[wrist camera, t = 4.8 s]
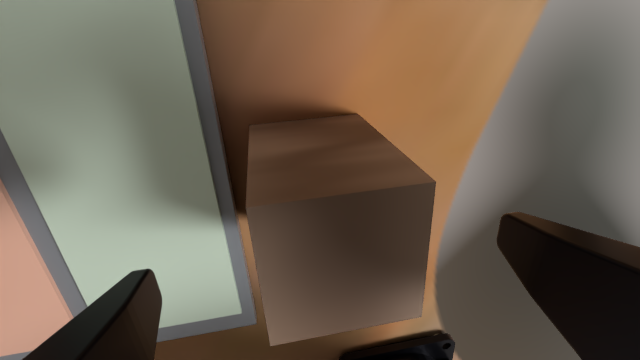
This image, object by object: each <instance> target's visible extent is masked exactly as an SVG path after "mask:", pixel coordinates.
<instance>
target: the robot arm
mask: <svg viewBox="0 0 640 360" xmlns="http://www.w3.org/2000/svg"><path fill="white" fill-rule="evenodd" d="M497 245H498V248H499V249H500V251H501V252H502V254H503V255H504V257H505V258H506V260H507V261H508V263H509V264H510V266H511V267H512V269H513V270H514V272H515V273H516V275H517V276H518V278H519V279H520V281H521V282H522V284H523V285H524V287H525V288H526V290H527V291H528V293H529V294H530V296H531V297H532V298H533V299H534V301H535V302H536V303H537V305H538V306H539V307H540V308H541V310H542V311H543V312H544V313H545V314H546V316H547V317H548V318H549V320H550V321H551V322H552V323H553V324H554V326H555V327H556V328H557V329H558V331H559V332H560V333H561V334H562V336H563V337H564V338H565V339H566V341H567V342H568V343H569V344H570V346H571V347H572V348H573V349H574V351H575V352H576V353H577V354H578V355H579V357H580V358H581V359H582V360H640V247H637V246H634V245H630V244H627V243H623V242H620V241H617V240H613V239H610V238H607V237H603V236H600V235H596V234H593V233H590V232H586V231H583V230H580V229H576V228H573V227H569V226H566V225H562V224H559V223H556V222H553V221H549V220H546V219H542V218H539V217H536V216H532V215H529V214H525V213H522V212H512V213H506V214H504V215H503V216H502V217H501V220H500V225H499V230H498V235H497ZM161 309H162V295H161V292H160V289H159V286H158V283H157V280H156V277H155V274H154V272H153V271H152V270H151V269H141V270H135V271H132V272H130V273H129V274H128V275H126V276H125V277H124V278H123V279H121V280H120V281H119V282H118V283H116V284H115V285H114V286H113V287H111V288H110V289H109V290H108V291H106V292H105V293H104V294H103V295H101V296H100V297H99V298H98V299H96V300H95V301H94V302H93V303H91V304H90V305H89V306H88V307H86V308H85V309H84V310H83V311H82V312H80V313H79V314H78V315H77V316H75V317H74V318H73V319H72V320H70V321H69V322H68V323H67V324H65V325H64V326H63V327H62V328H60V329H59V330H58V331H57V332H55V333H54V334H53V335H52V336H50V337H49V338H48V339H47V340H45V341H44V342H43V343H42V344H40V345H39V346H38V347H37V348H35V349H34V350H33V351H32V352H30V353H29V354H28V355H27V356H25V357H24V358H23V359H22V360H154V355H155V348H156V342H157V335H158V329H159V322H160V316H161ZM454 347H455V342H454V340H453V338H452V337H451V336H450V335H449V334H440V335H435V336H430V337H425V338H420V339H415V340H410V341H405V342H400V343H396V344H391V345H386V346H381V347H376V348H371V349H366V350H361V351H356V352H351V353H347V354H344V355H342V356H341V357H340V358H339V360H452V359H453V353H454Z"/></svg>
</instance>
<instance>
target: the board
mask: <svg viewBox="0 0 640 360" xmlns="http://www.w3.org/2000/svg"><path fill="white" fill-rule="evenodd" d="M141 269H151V270H152V271H153V272H154V274H155V277H156V280H157V283H158V286H159V289H160V292H161V295H162V309H161V316H160V322H159V329H158V335H157V342H161V341H167V340H172V339H178V338H183V337H189V336H194V335H199V334H205V333H210V332H216V331H221V330H227V329H232V328H238V327H243V326H248V325H254V324H256V309H255V304H254V299H253V293H252V288H251V283H250V278H249V273H248V268H247V262H246V257H245V252H244V247H243V242H242V236H241V231H240V226H239V221H238V216H237V210H236V205H235V200H234V195H233V190H232V184H231V179H230V174H229V169H228V164H227V159H226V153H225V148H224V143H223V138H222V133H221V127H220V122H219V117H218V112H217V107H216V101H215V96H214V91H213V86H212V81H211V76H210V70H209V65H208V60H207V55H206V50H205V44H204V39H203V34H202V29H201V24H200V18H199V13H198V8H197V3H196V0H0V360H22V359H23V358H24V357H25V356H27V355H28V354H29V353H30V352H32V351H33V350H34V349H35V348H37V347H38V346H39V345H40V344H42V343H43V342H44V341H45V340H47V339H48V338H49V337H50V336H52V335H53V334H54V333H55V332H57V331H58V330H59V329H60V328H62V327H63V326H64V325H65V324H67V323H68V322H69V321H70V320H72V319H73V318H74V317H75V316H77V315H78V314H79V313H80V312H82V311H83V310H84V309H85V308H86V307H88V306H89V305H90V304H91V303H93V302H94V301H95V300H96V299H98V298H99V297H100V296H101V295H103V294H104V293H105V292H106V291H108V290H109V289H110V288H111V287H113V286H114V285H115V284H116V283H118V282H119V281H120V280H121V279H123V278H124V277H125V276H126V275H128V274H129V273H130V272H132V271H135V270H141Z"/></svg>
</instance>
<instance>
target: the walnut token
mask: <svg viewBox="0 0 640 360" xmlns="http://www.w3.org/2000/svg"><path fill="white" fill-rule="evenodd" d="M435 186H436V181H435V180H433V179H432V178H431V177H430V176H429V175H428V174H426V173H425V172H424V171H423V170H422V169H421V168H420V167H418V166H417V165H416V164H415V163H414V162H413V161H412V160H410V159H409V158H408V157H407V156H406V155H405V154H403V153H402V152H401V151H400V150H399V149H398V148H397V147H395V146H394V145H393V144H392V143H391V142H390V141H388V140H387V139H386V138H385V137H384V136H383V135H382V134H380V133H379V132H378V131H377V130H376V129H375V128H374V127H372V126H371V125H370V124H369V123H368V122H367V121H365V120H364V119H363V118H362V117H361V116H360V115H359V114H351V115H341V116H332V117H322V118H312V119H303V120H293V121H283V122H273V123H264V124H254V125H249V146H248V168H247V190H246V212H247V218H248V224H249V229H250V235H251V240H252V246H253V252H254V257H255V263H256V269H257V274H258V280H259V285H260V291H261V297H262V302H263V308H264V313H265V319H266V325H267V330H268V336H269V342H270V346H274V345H280V344H285V343H290V342H295V341H300V340H305V339H310V338H316V337H321V336H326V335H331V334H336V333H341V332H346V331H352V330H357V329H362V328H367V327H372V326H377V325H383V324H388V323H393V322H398V321H403V320H408V319H413V318H419V317H422V308H423V299H424V289H425V280H426V270H427V261H428V252H429V242H430V233H431V224H432V214H433V205H434V196H435Z"/></svg>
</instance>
